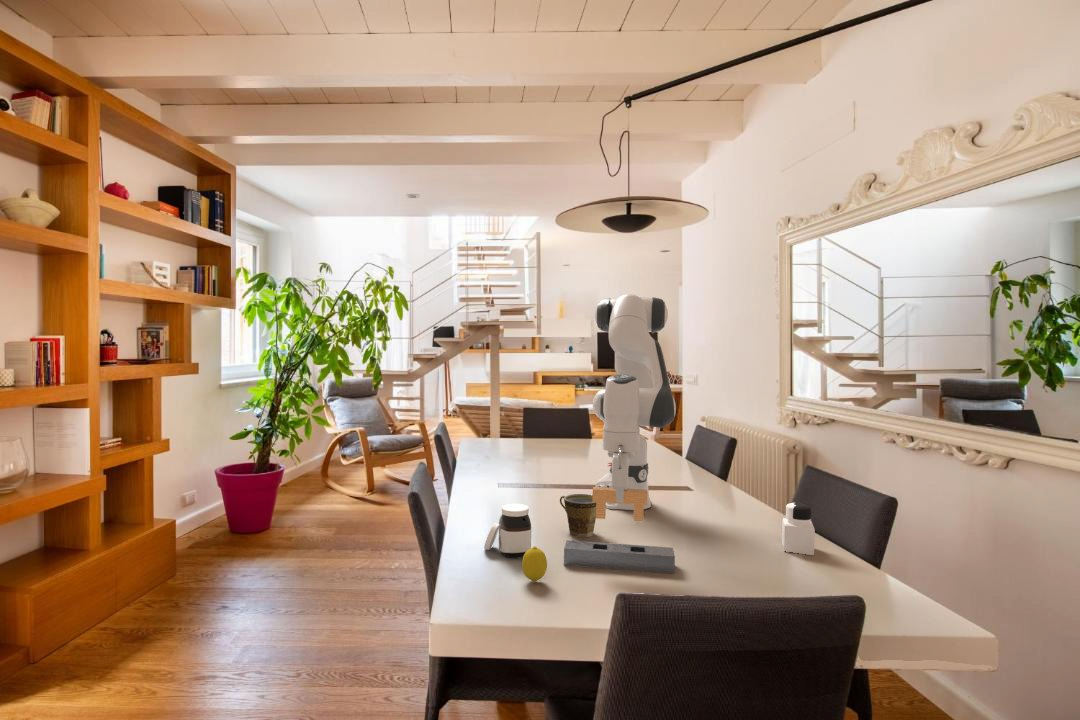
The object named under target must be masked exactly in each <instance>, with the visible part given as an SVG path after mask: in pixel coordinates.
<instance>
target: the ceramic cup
mask: <svg viewBox="0 0 1080 720" xmlns="http://www.w3.org/2000/svg"><path fill="white" fill-rule="evenodd" d="M562 501H563V502H564V503H563V502H562ZM559 504H560V505H561V507H562V508H563V509H564V511H565V513H566V517H567V523H568V531H569V532H568V533H569V534H570V536H573V537H576V538H588V537H592V536H593V534H594V530H595V524H596V519H597V518H596V502H593V495H590V494H586V493H573V494H567V495H562V496H560V498H559Z"/></svg>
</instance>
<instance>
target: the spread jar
mask: <svg viewBox="0 0 1080 720" xmlns="http://www.w3.org/2000/svg"><path fill="white" fill-rule="evenodd" d="M498 520H499V521H498V523H496V522H494V523H493V524H492V526H491V528H490V530H489V532H488V534H487V537H486V540H485V543H484V547H483V548H484V550H487V551H490V550H491V548H492V547H493V546H494V543H495V540H496V538H497V535H498V549H499V552H500V554H501V555H502V556H503V557H506V558H511V559H516V558H517V559H518V558H523V557H524V554H525V553H526V551H527V550H529V549H530V548H532V522H531V517H530V515H529V506H528V505H526V504H522V503H508V504H504V505H502V506H501V515H500V517H499V519H498Z"/></svg>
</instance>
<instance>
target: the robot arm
mask: <svg viewBox="0 0 1080 720" xmlns="http://www.w3.org/2000/svg"><path fill="white" fill-rule="evenodd" d="M596 305H597V306H596V308H595V312H594V321H595V323H596V325H597V328H598V329H599V330H600V331H602V332H605V333H608V342H609V346H610V347H611V349H612V350H613V351H614V370H615V373H616V374H614V375H613V374H612V375H610V376H609V377H607V378H606V382H605V388H604V389H600V390H598V391H597V392H596V394H595V395H594V397H593V400H592V408H593V409H592V410H593V412H594V414H595V415H596V417H597V418H598V419H600V420H601V421H602V422H603V426H602V450H604V451H607V457H609V458H611V459H612V460H611V462H607V467H610V468H609V471H608V472H607V473H606V474H605V475H603V476H602V477H601V478H599V479H598V480H597V481H596V483H595V486H594V487H607V488H613V489H615V490H616V502H619V503H606V508H607V509H609V510H626V511H634V504H620V503H622V502H623V501H624V490H626V489H643V490H647V491H648V501H647V505H643V510H647V509H649V508H650V507H652V504H651V497H650V493H649V481H648V475H649V463H648V442H647V441H648V440H647V439H646V438H645V436H643V435H642V434H641V430H640V429H641V428H640V426H644V427H651V428H658V429H659V428H660V429H664V428H665V427H667V426H668V425H670V424H671V423H672V422H673V421H674V420H675V417H676V414H677V413H676V411H677V405H676V401H675V398H674V395H673V392H672V388H671V385H670V380H669V377H668V375H669V374H668V370H667V365H666V362H665V357H664V352H663V350H662V347H661V344H660V343H659V341H658V340H656V339H655V338H653V337H652V335H651V334H655V333H656V332H661V330H663V329H664V328H665V326H666V323H667V321H668V317H669V310H668V308H667V305H666V302H665V301H664V300H663V299H662V298H659V297H652V298H651V297H645V296H644V297H643V296H638V295H636V294H630V293H629V294H624V295H621V296H620V297H616V298H611V297H608V298H603V299H601V300H600V301H599V302H598V303H597V304H596ZM650 332H651V334H650ZM589 495H593V492H592V493H590V494H589Z"/></svg>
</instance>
